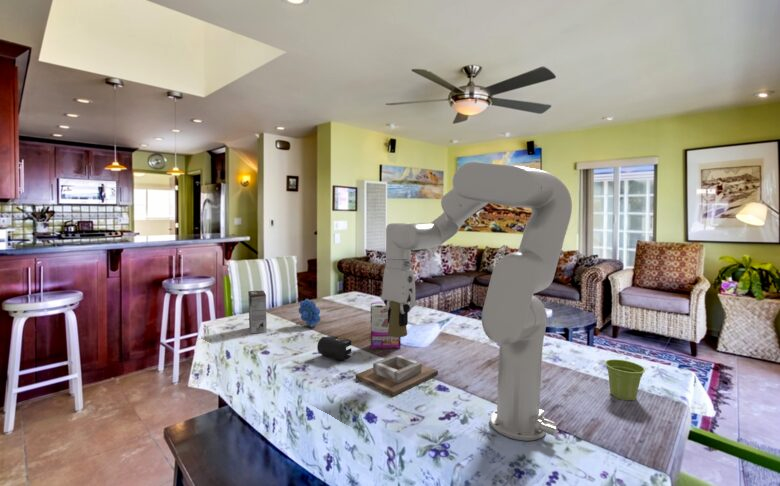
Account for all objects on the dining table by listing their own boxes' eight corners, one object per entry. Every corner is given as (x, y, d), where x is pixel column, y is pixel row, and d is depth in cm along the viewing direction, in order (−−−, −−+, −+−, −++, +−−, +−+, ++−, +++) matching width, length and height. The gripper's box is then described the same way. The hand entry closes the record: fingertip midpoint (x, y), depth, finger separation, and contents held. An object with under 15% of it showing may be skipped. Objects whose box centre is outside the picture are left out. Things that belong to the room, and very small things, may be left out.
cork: (405, 337, 113) (406, 301, 112) (385, 336, 114) (386, 300, 114) (408, 331, 119) (409, 296, 118) (389, 330, 120) (390, 295, 120)
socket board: (437, 374, 119) (438, 361, 119) (393, 396, 105) (393, 381, 105) (400, 360, 131) (400, 348, 130) (355, 378, 116) (355, 364, 116)
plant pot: (607, 385, 113) (608, 356, 112) (645, 395, 107) (647, 364, 106) (600, 396, 106) (601, 366, 105) (640, 408, 100) (642, 375, 99)
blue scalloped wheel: (292, 326, 168) (292, 299, 167) (302, 322, 174) (302, 296, 173) (314, 330, 163) (314, 302, 162) (323, 326, 169) (323, 299, 168)
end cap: (316, 357, 133) (316, 338, 132) (330, 351, 139) (330, 333, 138) (339, 364, 127) (339, 344, 127) (352, 357, 133) (352, 338, 133)
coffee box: (248, 327, 166) (247, 291, 165) (264, 326, 169) (263, 289, 168) (250, 333, 158) (249, 295, 157) (267, 331, 161) (266, 294, 159)
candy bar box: (399, 344, 147) (400, 302, 145) (400, 349, 142) (401, 305, 140) (370, 344, 146) (370, 302, 145) (370, 349, 141) (370, 305, 140)
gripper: (427, 266, 112) (426, 327, 113) (387, 260, 124) (386, 316, 125) (411, 268, 107) (410, 332, 108) (370, 262, 118) (369, 320, 120)
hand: (397, 323), depth 117 cm, fingers closed on cork, 4 cm apart
